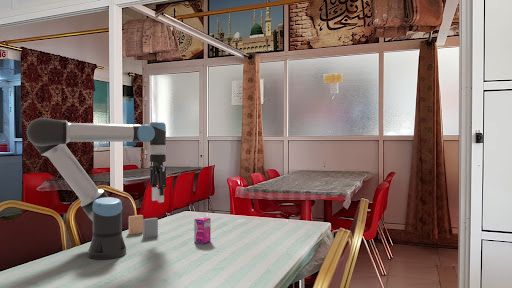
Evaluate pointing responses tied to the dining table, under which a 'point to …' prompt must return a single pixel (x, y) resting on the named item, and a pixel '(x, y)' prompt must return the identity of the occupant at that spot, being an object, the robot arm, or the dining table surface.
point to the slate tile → (150, 227)
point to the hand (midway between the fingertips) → (157, 201)
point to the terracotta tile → (135, 224)
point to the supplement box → (202, 230)
